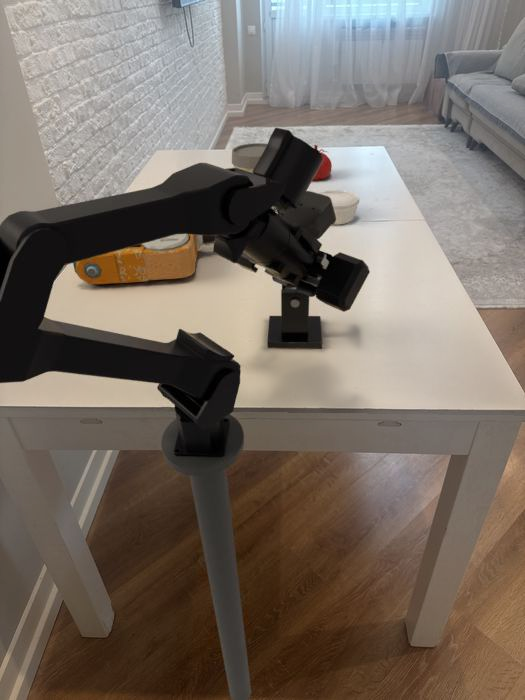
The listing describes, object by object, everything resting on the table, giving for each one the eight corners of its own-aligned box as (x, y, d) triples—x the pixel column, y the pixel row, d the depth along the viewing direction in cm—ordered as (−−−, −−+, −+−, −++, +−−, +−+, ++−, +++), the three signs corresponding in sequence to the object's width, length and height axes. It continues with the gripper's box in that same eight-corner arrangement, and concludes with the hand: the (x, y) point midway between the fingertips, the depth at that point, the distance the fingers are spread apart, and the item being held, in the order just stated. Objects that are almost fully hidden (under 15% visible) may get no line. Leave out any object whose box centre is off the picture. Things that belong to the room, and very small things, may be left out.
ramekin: (354, 209, 128) (356, 189, 125) (360, 226, 119) (362, 205, 116) (311, 210, 129) (312, 190, 126) (314, 227, 120) (314, 206, 117)
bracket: (320, 321, 87) (322, 272, 81) (321, 348, 81) (324, 297, 75) (269, 321, 88) (268, 272, 82) (267, 348, 81) (265, 297, 75)
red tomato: (310, 184, 144) (311, 152, 139) (293, 175, 152) (293, 144, 146) (338, 178, 148) (340, 146, 142) (320, 170, 155) (321, 139, 149)
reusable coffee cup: (232, 217, 126) (227, 157, 117) (237, 199, 136) (233, 143, 127) (280, 217, 125) (280, 156, 116) (282, 199, 135) (282, 142, 126)
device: (91, 209, 111) (223, 202, 112) (100, 243, 116) (226, 236, 117) (65, 253, 93) (223, 245, 94) (77, 291, 98) (226, 283, 99)
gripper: (368, 196, 51) (408, 255, 64) (244, 162, 62) (299, 219, 75) (318, 290, 52) (368, 330, 65) (203, 241, 62) (265, 284, 75)
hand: (323, 286), depth 70 cm, fingers closed
